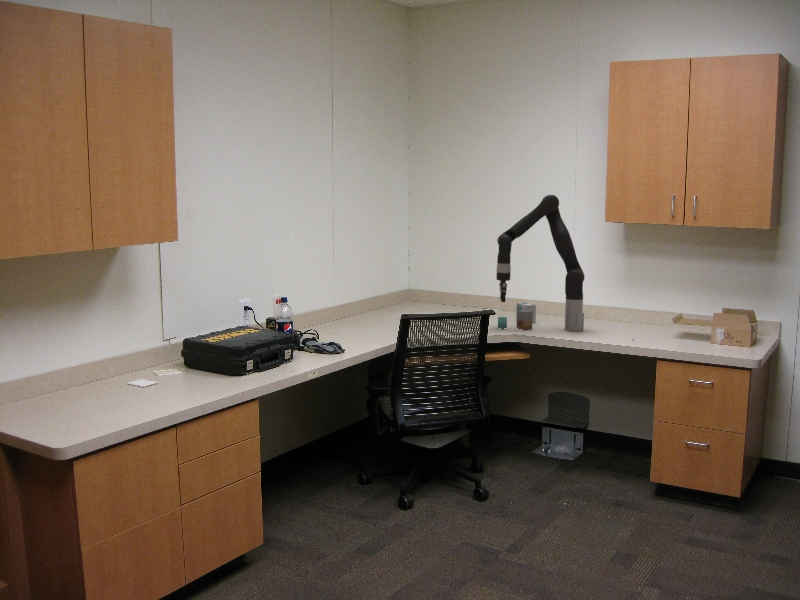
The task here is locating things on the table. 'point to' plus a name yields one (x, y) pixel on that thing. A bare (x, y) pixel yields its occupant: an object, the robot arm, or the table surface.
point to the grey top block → (524, 315)
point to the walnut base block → (524, 325)
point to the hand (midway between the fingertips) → (502, 300)
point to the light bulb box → (527, 307)
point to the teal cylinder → (502, 322)
